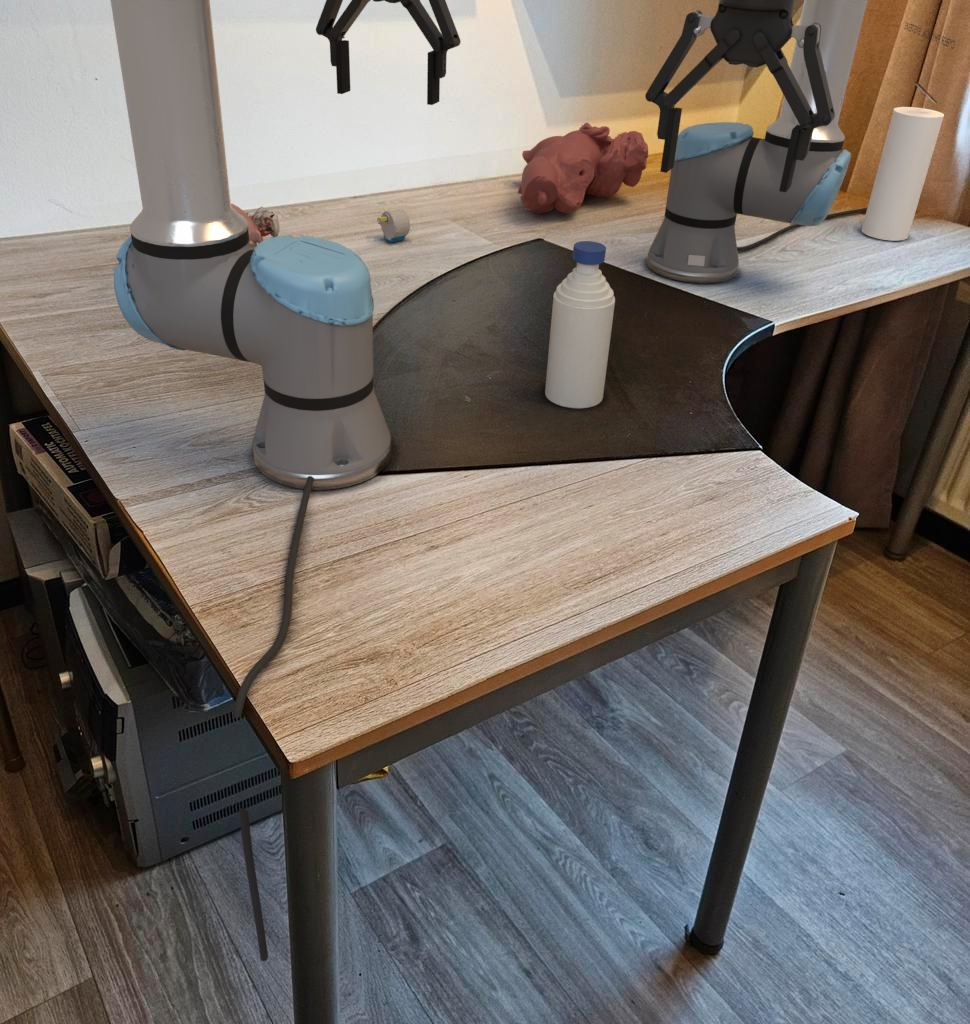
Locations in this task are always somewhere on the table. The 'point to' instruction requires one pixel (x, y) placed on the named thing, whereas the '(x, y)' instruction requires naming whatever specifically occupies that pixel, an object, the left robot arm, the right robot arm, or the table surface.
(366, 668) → the table surface
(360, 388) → the left robot arm
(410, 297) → the table surface
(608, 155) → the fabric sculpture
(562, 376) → the bottle
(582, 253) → the cap
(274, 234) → the toy
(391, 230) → the electric motor
